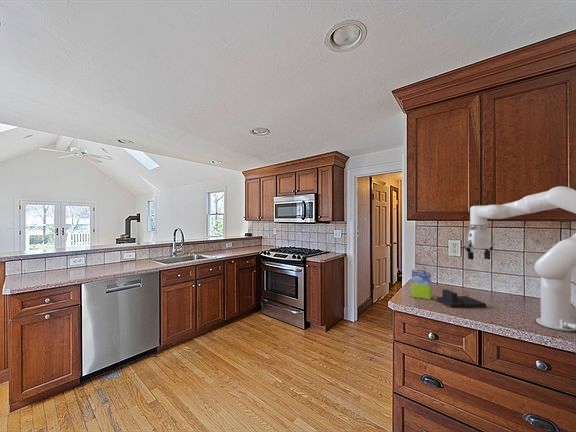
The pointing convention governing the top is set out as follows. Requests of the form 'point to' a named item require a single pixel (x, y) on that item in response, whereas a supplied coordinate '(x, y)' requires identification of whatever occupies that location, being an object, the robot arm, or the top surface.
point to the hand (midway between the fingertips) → (479, 259)
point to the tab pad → (450, 299)
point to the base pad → (470, 302)
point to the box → (421, 284)
